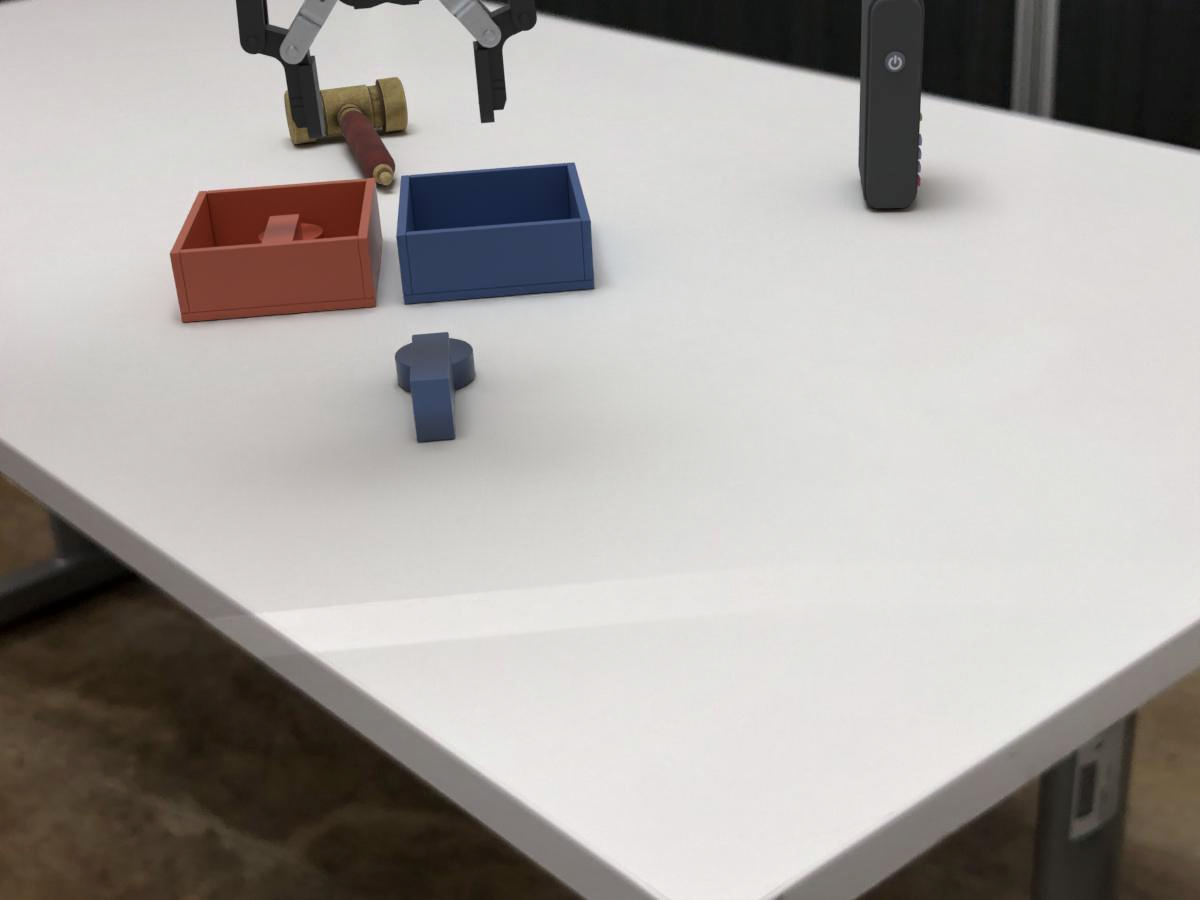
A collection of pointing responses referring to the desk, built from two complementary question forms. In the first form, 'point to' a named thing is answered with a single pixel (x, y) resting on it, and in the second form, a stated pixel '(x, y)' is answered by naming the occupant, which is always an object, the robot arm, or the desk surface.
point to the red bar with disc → (289, 230)
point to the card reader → (890, 101)
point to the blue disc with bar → (434, 380)
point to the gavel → (361, 122)
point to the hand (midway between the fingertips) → (402, 127)
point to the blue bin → (493, 233)
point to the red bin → (278, 251)
